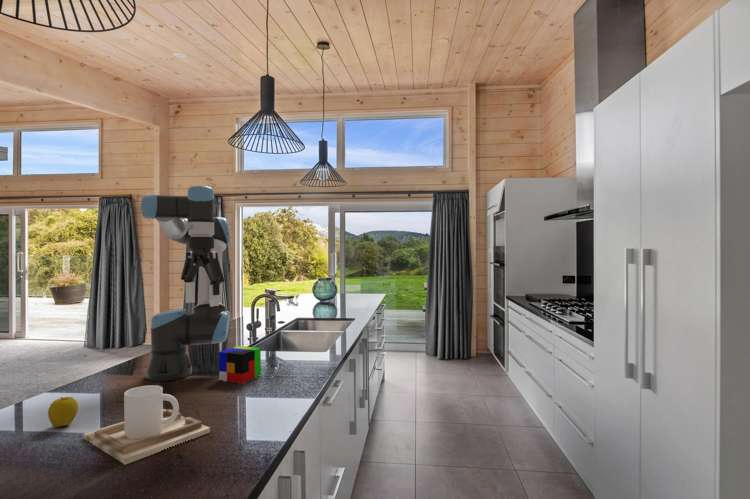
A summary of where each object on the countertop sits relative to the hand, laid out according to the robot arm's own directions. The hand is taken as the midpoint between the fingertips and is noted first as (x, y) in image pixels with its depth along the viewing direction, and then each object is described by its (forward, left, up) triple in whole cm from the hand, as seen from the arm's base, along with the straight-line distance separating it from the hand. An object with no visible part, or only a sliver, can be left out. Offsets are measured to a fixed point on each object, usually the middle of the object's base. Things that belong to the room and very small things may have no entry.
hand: (202, 304), depth 137 cm
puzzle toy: (-6, +18, -29) cm, 35 cm away
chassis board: (+16, -25, -29) cm, 41 cm away
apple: (-8, -35, -29) cm, 46 cm away
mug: (+18, -24, -28) cm, 41 cm away
